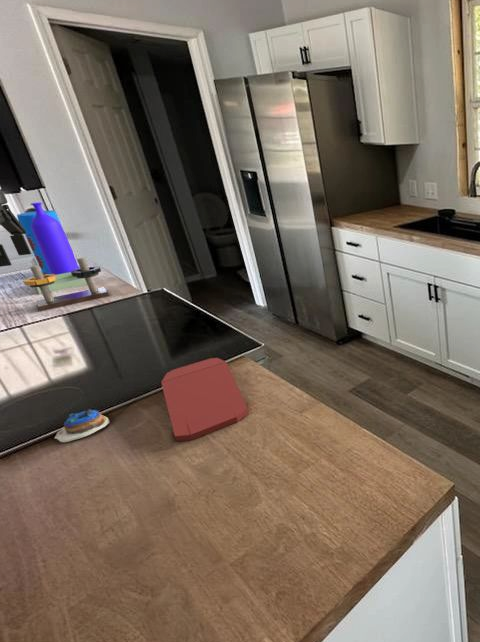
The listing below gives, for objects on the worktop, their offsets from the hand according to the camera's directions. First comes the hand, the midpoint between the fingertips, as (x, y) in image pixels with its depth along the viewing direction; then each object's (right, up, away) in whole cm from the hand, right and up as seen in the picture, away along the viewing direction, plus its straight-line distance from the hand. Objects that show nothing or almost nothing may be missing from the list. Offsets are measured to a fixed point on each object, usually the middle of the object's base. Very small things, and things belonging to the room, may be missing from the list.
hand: (15, 260), depth 130 cm
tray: (-17, -8, +30) cm, 35 cm away
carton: (+90, -34, -40) cm, 104 cm away
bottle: (-26, -4, +40) cm, 48 cm away
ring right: (+7, -4, +15) cm, 17 cm away
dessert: (+71, -37, -48) cm, 94 cm away
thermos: (-35, -2, +45) cm, 57 cm away
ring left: (0, -7, +7) cm, 10 cm away
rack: (+4, -14, +14) cm, 20 cm away
